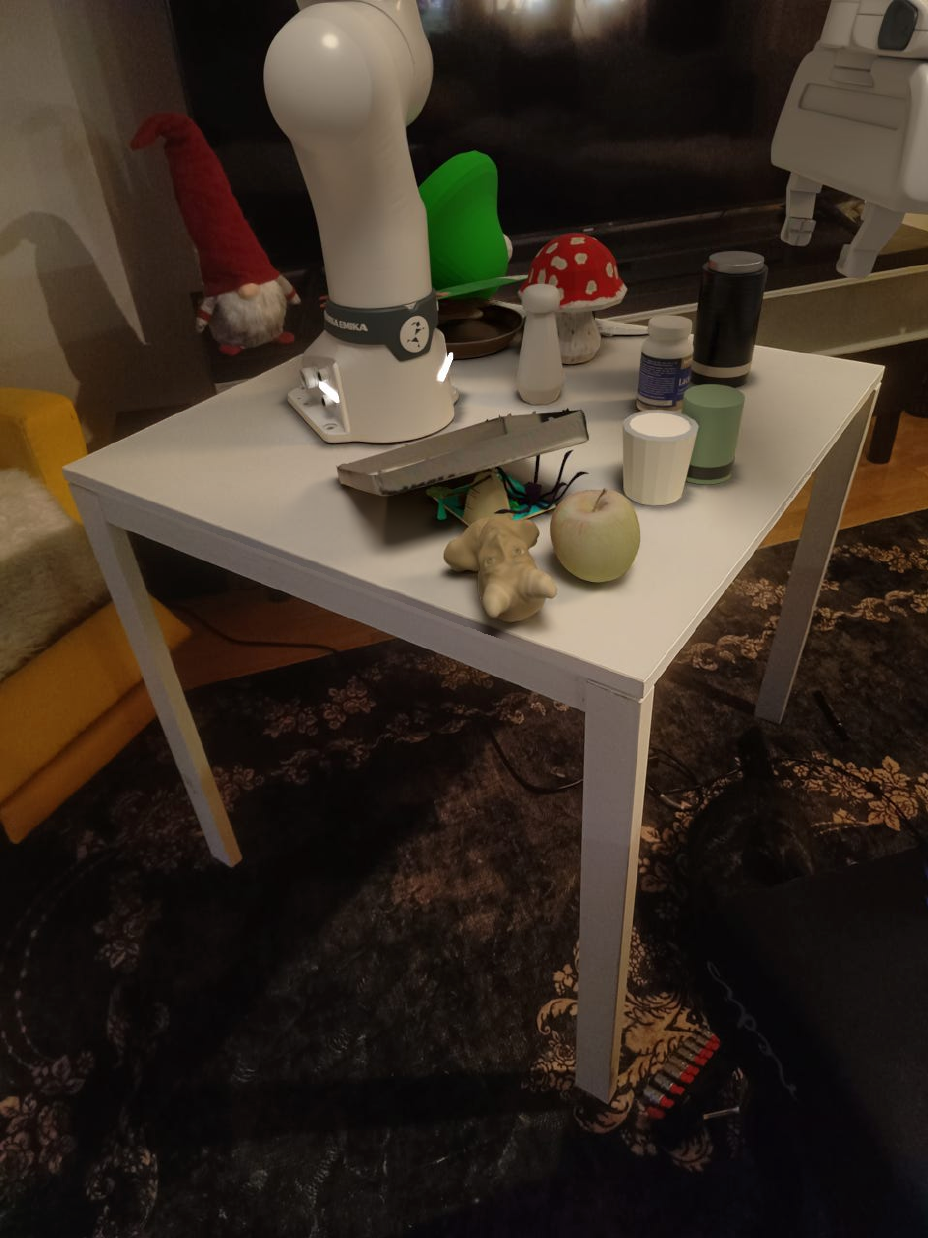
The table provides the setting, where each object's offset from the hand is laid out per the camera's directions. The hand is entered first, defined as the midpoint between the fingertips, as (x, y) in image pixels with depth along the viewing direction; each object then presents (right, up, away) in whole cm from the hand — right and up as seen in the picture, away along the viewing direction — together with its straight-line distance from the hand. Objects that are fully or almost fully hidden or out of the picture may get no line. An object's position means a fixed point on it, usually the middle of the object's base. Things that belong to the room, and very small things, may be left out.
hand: (820, 258), depth 58 cm
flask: (+6, +4, +41) cm, 42 cm away
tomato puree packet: (-34, +15, +47) cm, 60 cm away
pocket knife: (-6, +14, +54) cm, 56 cm away
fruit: (-15, -22, +10) cm, 28 cm away
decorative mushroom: (-12, +9, +49) cm, 51 cm away
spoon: (-17, +16, +55) cm, 59 cm away
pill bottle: (-3, -2, +35) cm, 35 cm away
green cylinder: (-2, -11, +22) cm, 25 cm away
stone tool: (-22, +17, +53) cm, 60 cm away
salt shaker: (-17, 0, +39) cm, 42 cm away
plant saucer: (-26, +13, +56) cm, 63 cm away
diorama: (-22, -16, +18) cm, 33 cm away
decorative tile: (-36, -14, +15) cm, 42 cm away
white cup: (-8, -14, +20) cm, 25 cm away
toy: (-33, +34, +62) cm, 78 cm away
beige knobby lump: (-24, -18, +9) cm, 32 cm away
